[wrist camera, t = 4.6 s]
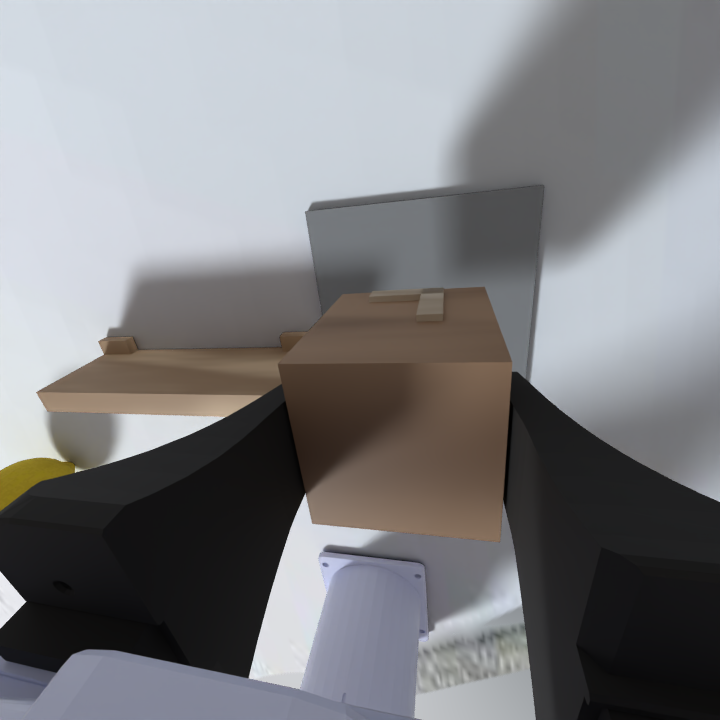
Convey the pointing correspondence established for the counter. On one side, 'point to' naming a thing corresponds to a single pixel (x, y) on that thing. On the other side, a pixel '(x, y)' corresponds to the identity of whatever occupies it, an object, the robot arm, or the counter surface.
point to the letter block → (403, 412)
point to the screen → (169, 380)
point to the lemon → (29, 476)
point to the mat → (437, 252)
